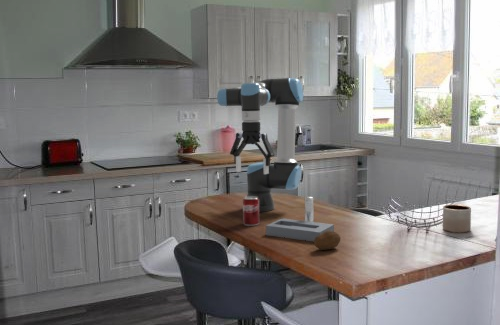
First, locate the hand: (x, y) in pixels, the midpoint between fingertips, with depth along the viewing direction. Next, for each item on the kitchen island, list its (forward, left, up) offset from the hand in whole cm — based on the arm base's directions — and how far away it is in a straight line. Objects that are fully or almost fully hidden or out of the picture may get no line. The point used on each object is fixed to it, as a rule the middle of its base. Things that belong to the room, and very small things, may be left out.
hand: (252, 172), depth 225 cm
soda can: (-11, -8, -25) cm, 29 cm away
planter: (-41, +73, -25) cm, 88 cm away
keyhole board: (-5, +19, -25) cm, 32 cm away
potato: (+9, +37, -25) cm, 46 cm away
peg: (-18, +17, -25) cm, 36 cm away
